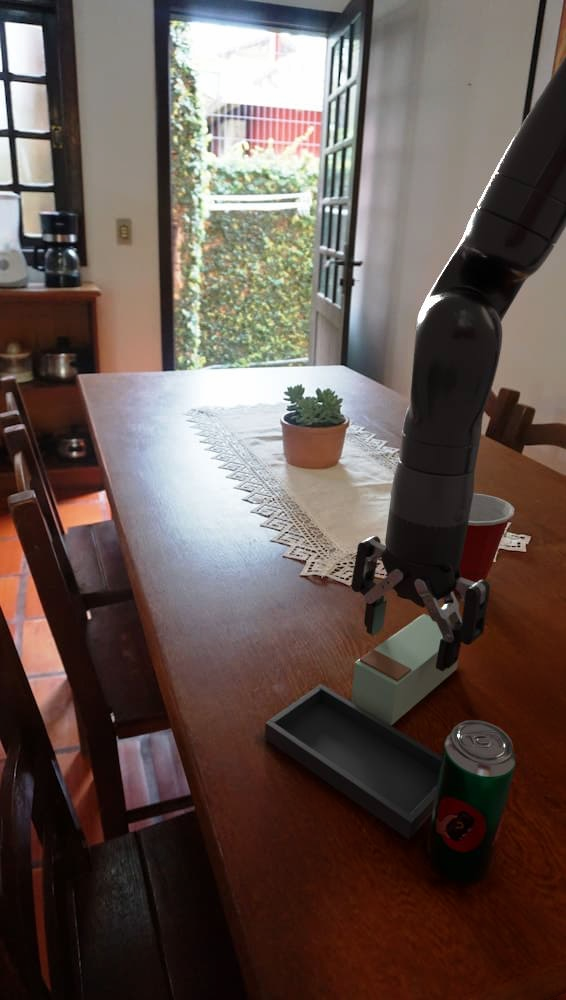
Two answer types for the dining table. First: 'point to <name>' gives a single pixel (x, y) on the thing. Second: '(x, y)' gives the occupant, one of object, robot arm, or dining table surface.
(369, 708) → the pencil box
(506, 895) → the dining table surface
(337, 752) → the tray
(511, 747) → the soda can
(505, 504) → the plastic cup
